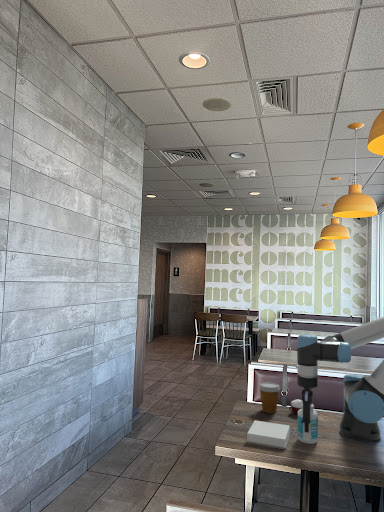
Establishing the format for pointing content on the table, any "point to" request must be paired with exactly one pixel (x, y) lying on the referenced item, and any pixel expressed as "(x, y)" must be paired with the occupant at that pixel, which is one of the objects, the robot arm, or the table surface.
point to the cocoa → (296, 406)
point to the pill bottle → (313, 425)
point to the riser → (269, 434)
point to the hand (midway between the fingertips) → (307, 436)
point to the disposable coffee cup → (269, 396)
